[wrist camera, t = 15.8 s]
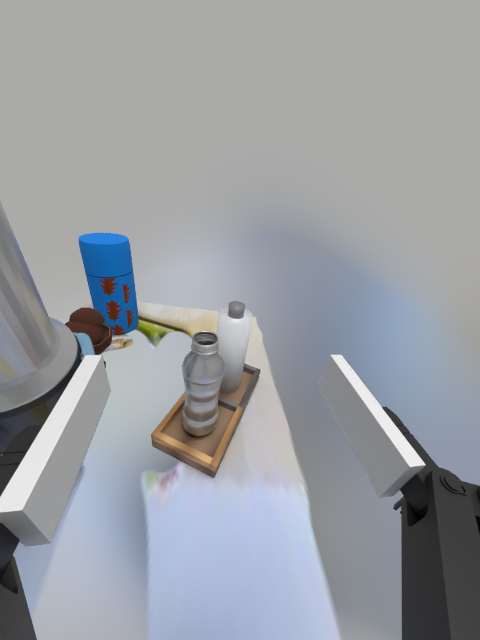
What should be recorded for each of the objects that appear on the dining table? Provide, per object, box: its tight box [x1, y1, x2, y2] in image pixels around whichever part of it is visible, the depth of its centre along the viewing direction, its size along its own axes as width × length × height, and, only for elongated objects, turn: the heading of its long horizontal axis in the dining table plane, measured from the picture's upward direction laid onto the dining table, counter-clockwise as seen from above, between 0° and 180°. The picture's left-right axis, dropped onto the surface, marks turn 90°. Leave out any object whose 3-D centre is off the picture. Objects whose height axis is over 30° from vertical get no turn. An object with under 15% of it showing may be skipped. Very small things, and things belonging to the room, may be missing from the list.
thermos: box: [79, 233, 138, 335], centre depth 63 cm, size 11×11×25 cm
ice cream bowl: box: [65, 308, 112, 368], centre depth 50 cm, size 11×11×15 cm
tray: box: [151, 364, 260, 478], centre depth 48 cm, size 12×24×4 cm, turn 158°
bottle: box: [217, 301, 253, 394], centre depth 48 cm, size 6×6×20 cm
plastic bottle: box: [181, 331, 226, 436], centre depth 38 cm, size 6×7×20 cm
